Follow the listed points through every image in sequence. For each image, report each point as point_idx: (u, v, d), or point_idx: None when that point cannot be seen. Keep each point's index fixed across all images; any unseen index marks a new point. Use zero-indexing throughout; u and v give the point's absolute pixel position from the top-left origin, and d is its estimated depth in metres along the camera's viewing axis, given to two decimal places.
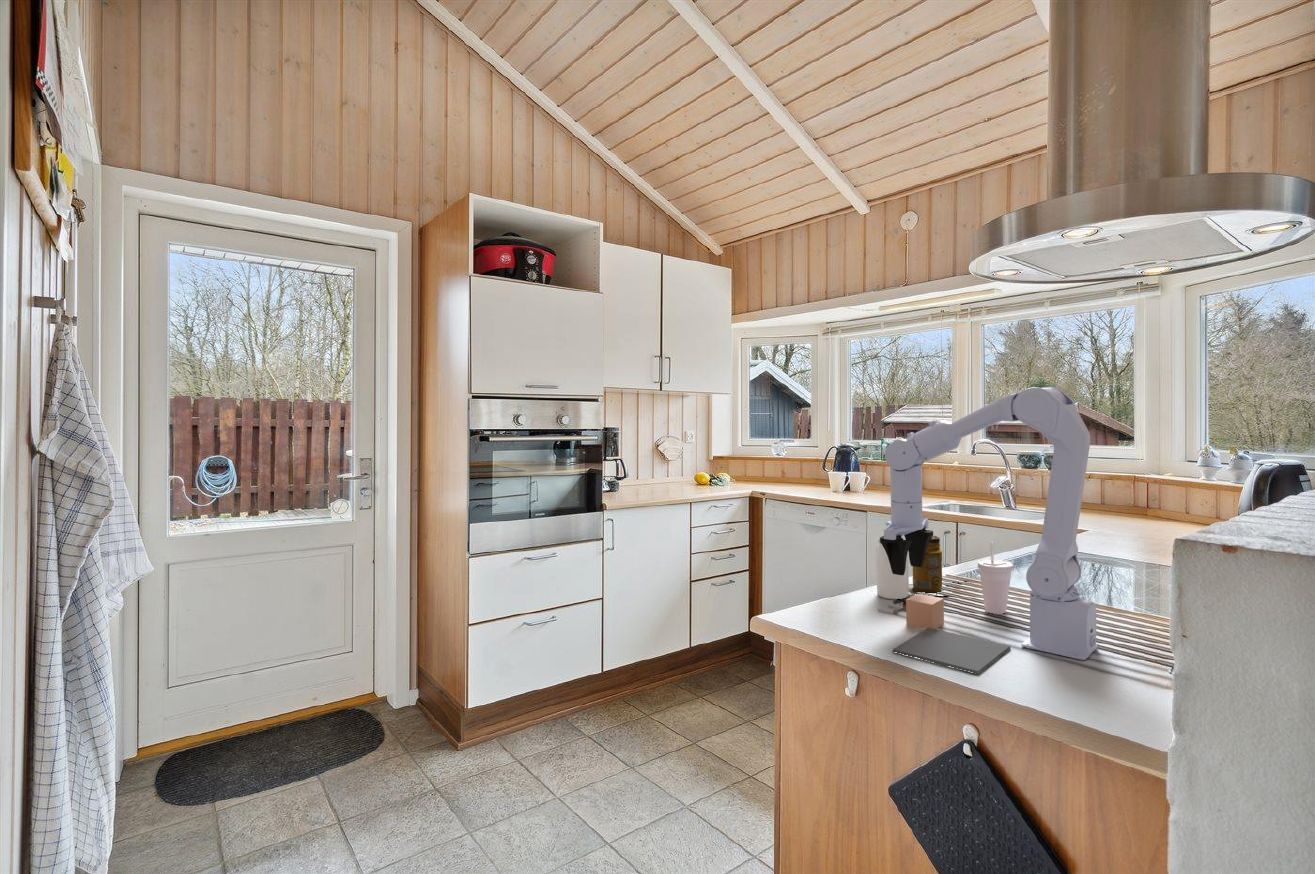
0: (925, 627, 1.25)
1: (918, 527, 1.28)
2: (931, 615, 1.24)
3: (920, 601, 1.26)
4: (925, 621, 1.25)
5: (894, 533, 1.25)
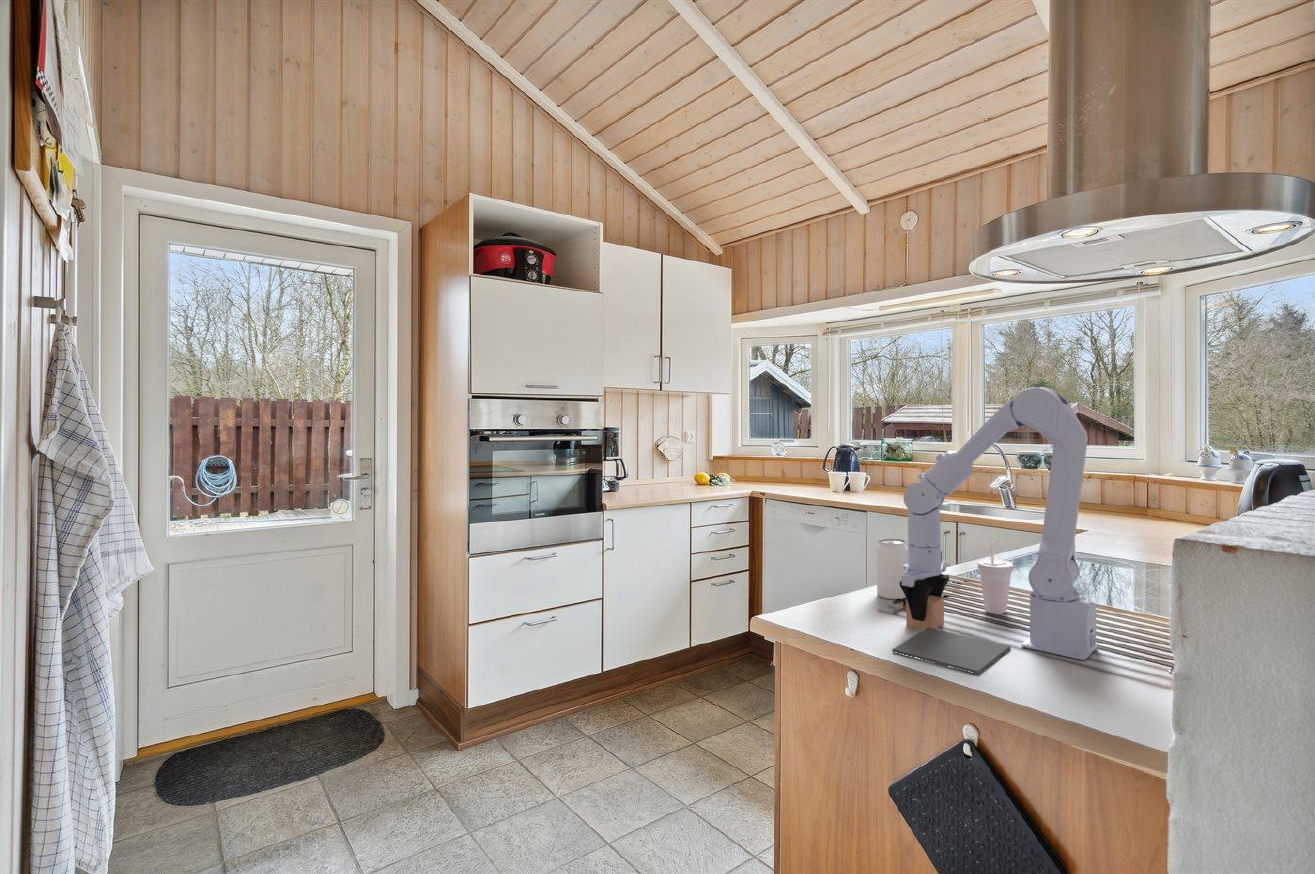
0: (925, 627, 1.25)
1: (937, 573, 1.24)
2: (931, 615, 1.24)
3: None
4: (926, 621, 1.25)
5: (912, 579, 1.21)
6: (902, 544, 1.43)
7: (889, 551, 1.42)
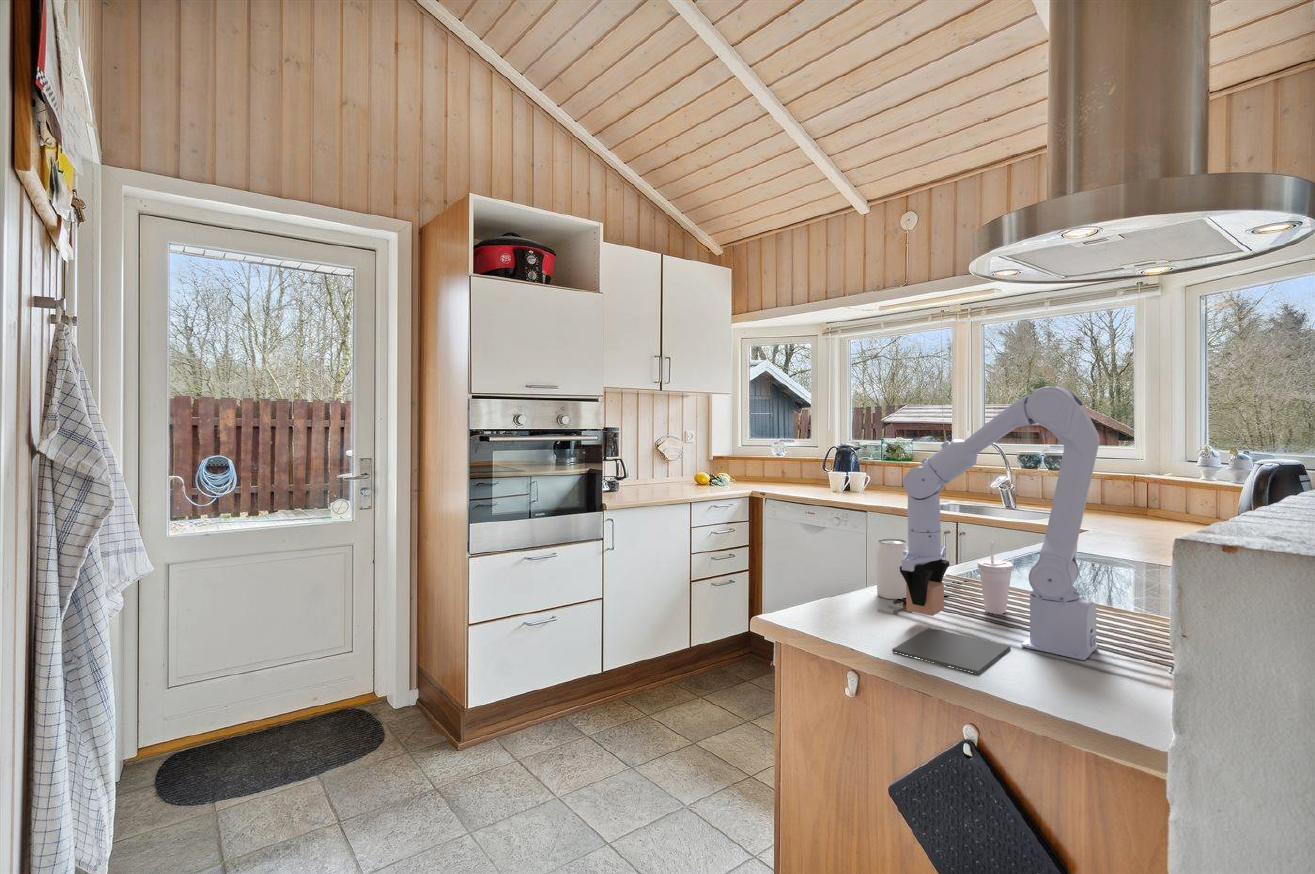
0: (925, 612, 1.25)
1: (937, 557, 1.24)
2: (931, 600, 1.24)
3: None
4: (926, 606, 1.25)
5: (912, 564, 1.21)
6: (902, 544, 1.43)
7: (889, 551, 1.42)
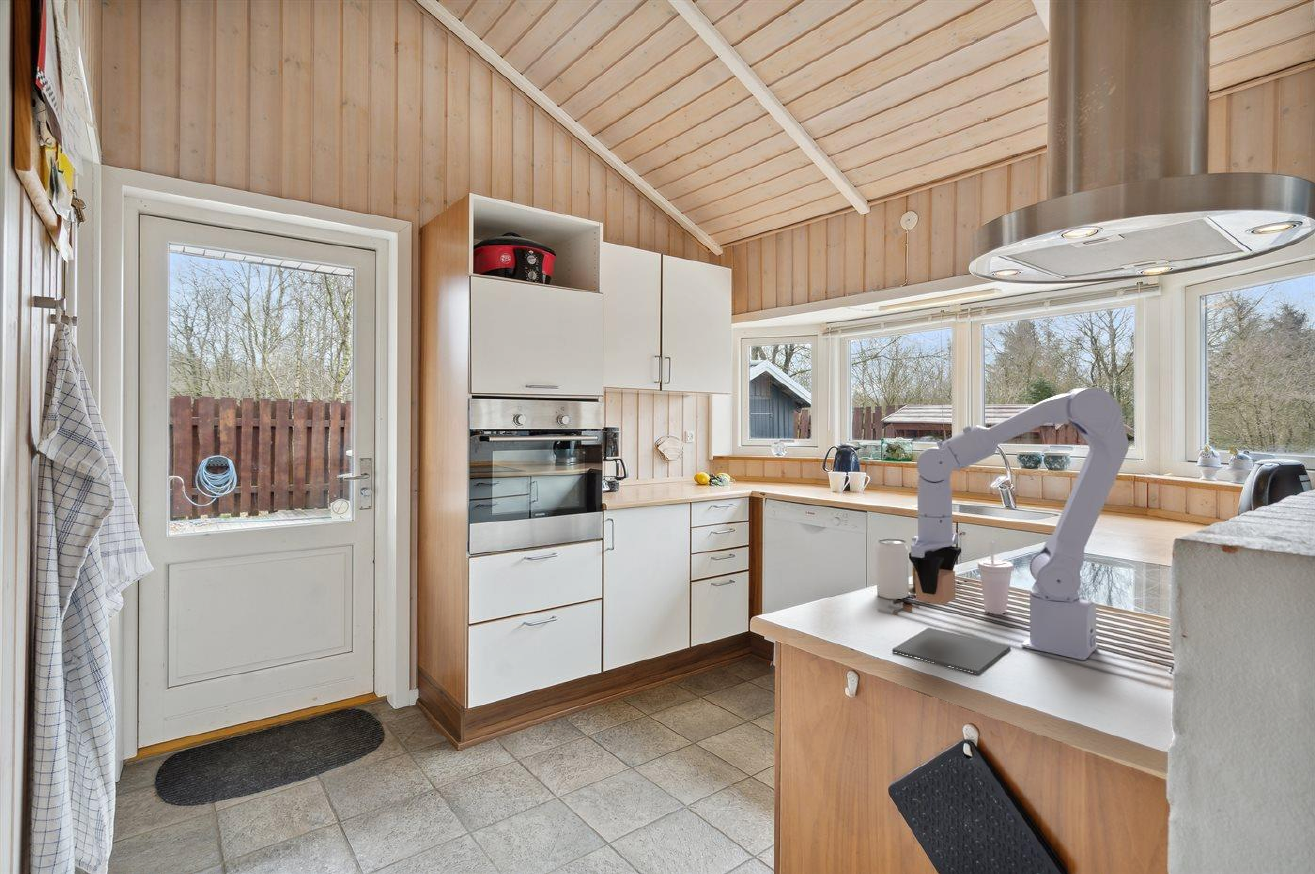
0: (935, 601, 1.19)
1: (948, 543, 1.18)
2: (942, 588, 1.18)
3: None
4: (936, 595, 1.18)
5: (923, 550, 1.15)
6: (902, 544, 1.43)
7: (889, 551, 1.42)
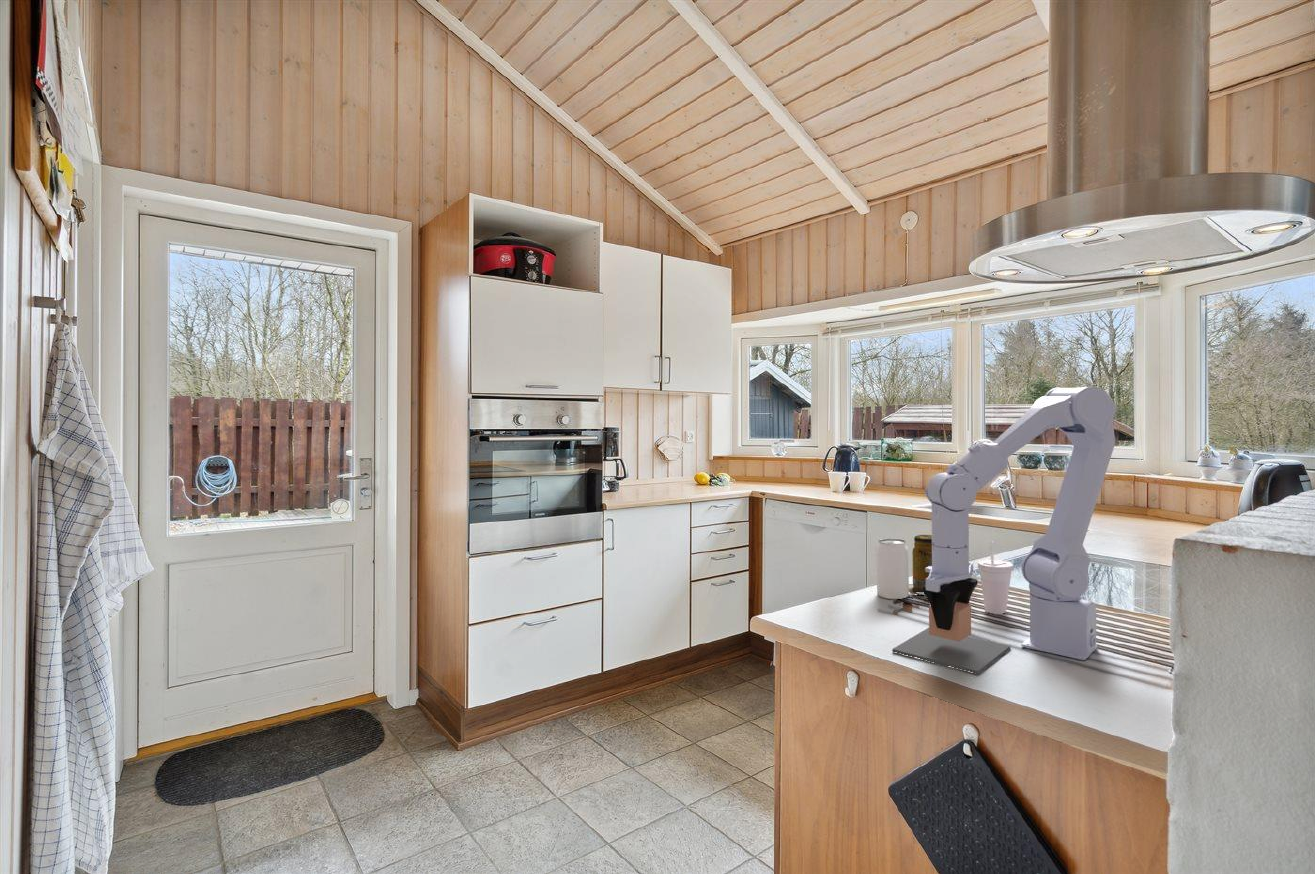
0: (951, 637, 1.11)
1: (965, 576, 1.10)
2: (958, 624, 1.10)
3: None
4: (951, 630, 1.11)
5: (938, 584, 1.08)
6: (902, 544, 1.43)
7: (889, 551, 1.42)
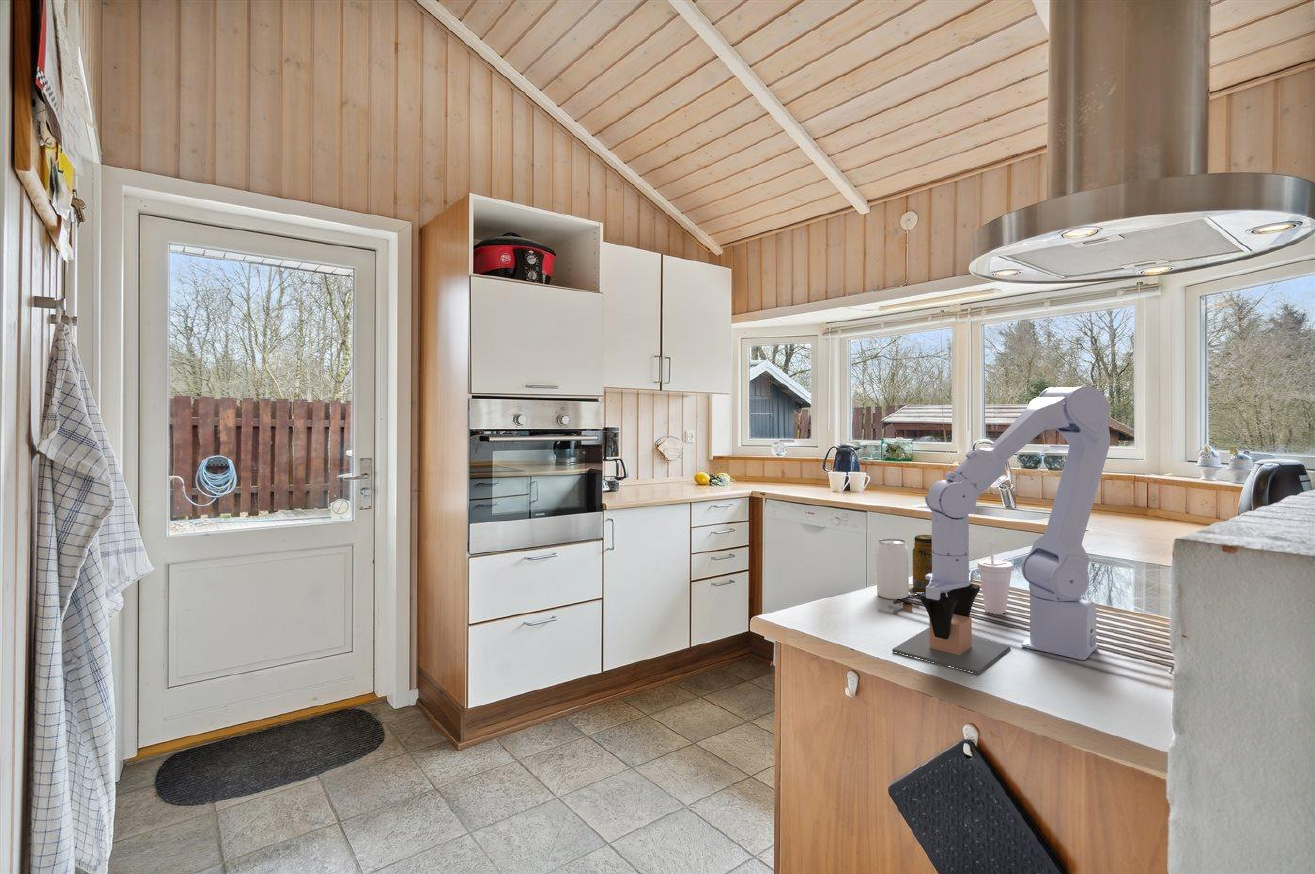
0: (951, 650, 1.12)
1: (965, 584, 1.11)
2: (958, 637, 1.11)
3: None
4: (952, 644, 1.11)
5: (938, 592, 1.08)
6: (902, 544, 1.43)
7: (889, 551, 1.42)
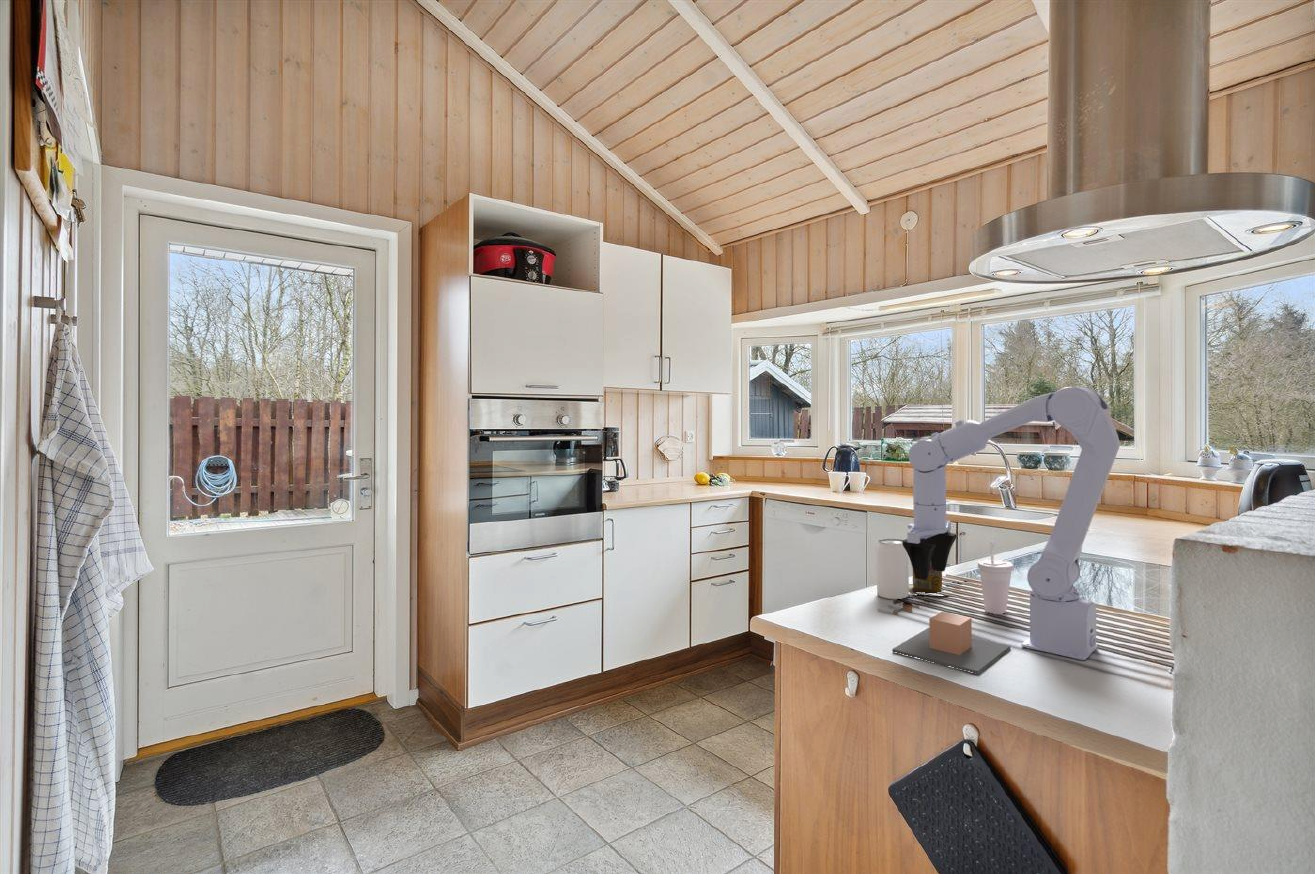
0: (951, 650, 1.12)
1: (942, 530, 1.24)
2: (958, 637, 1.11)
3: (946, 621, 1.12)
4: (952, 644, 1.11)
5: (918, 536, 1.21)
6: (902, 544, 1.43)
7: (889, 551, 1.42)
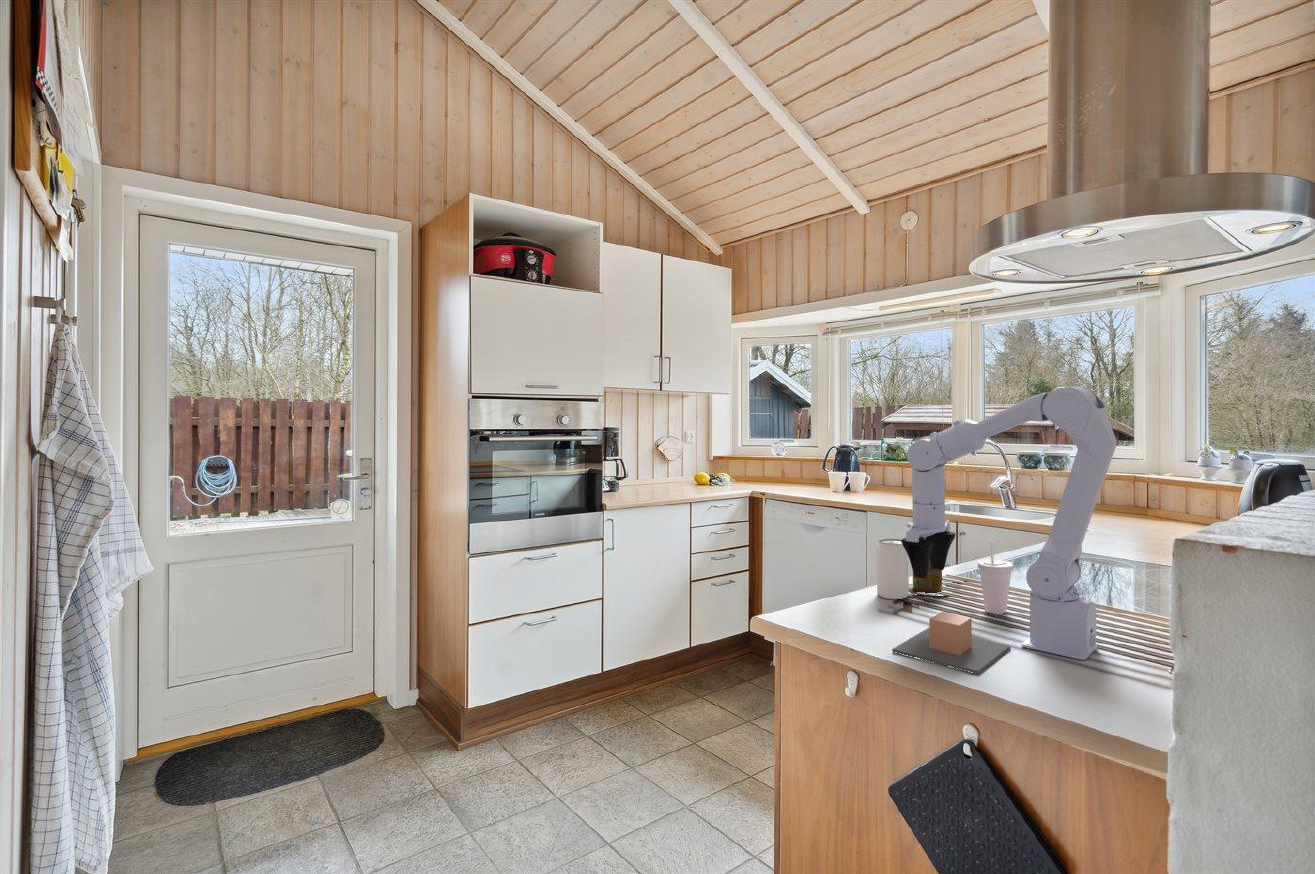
0: (951, 650, 1.12)
1: (941, 529, 1.25)
2: (958, 637, 1.11)
3: (946, 621, 1.12)
4: (952, 644, 1.11)
5: (917, 535, 1.22)
6: None
7: (889, 551, 1.42)
